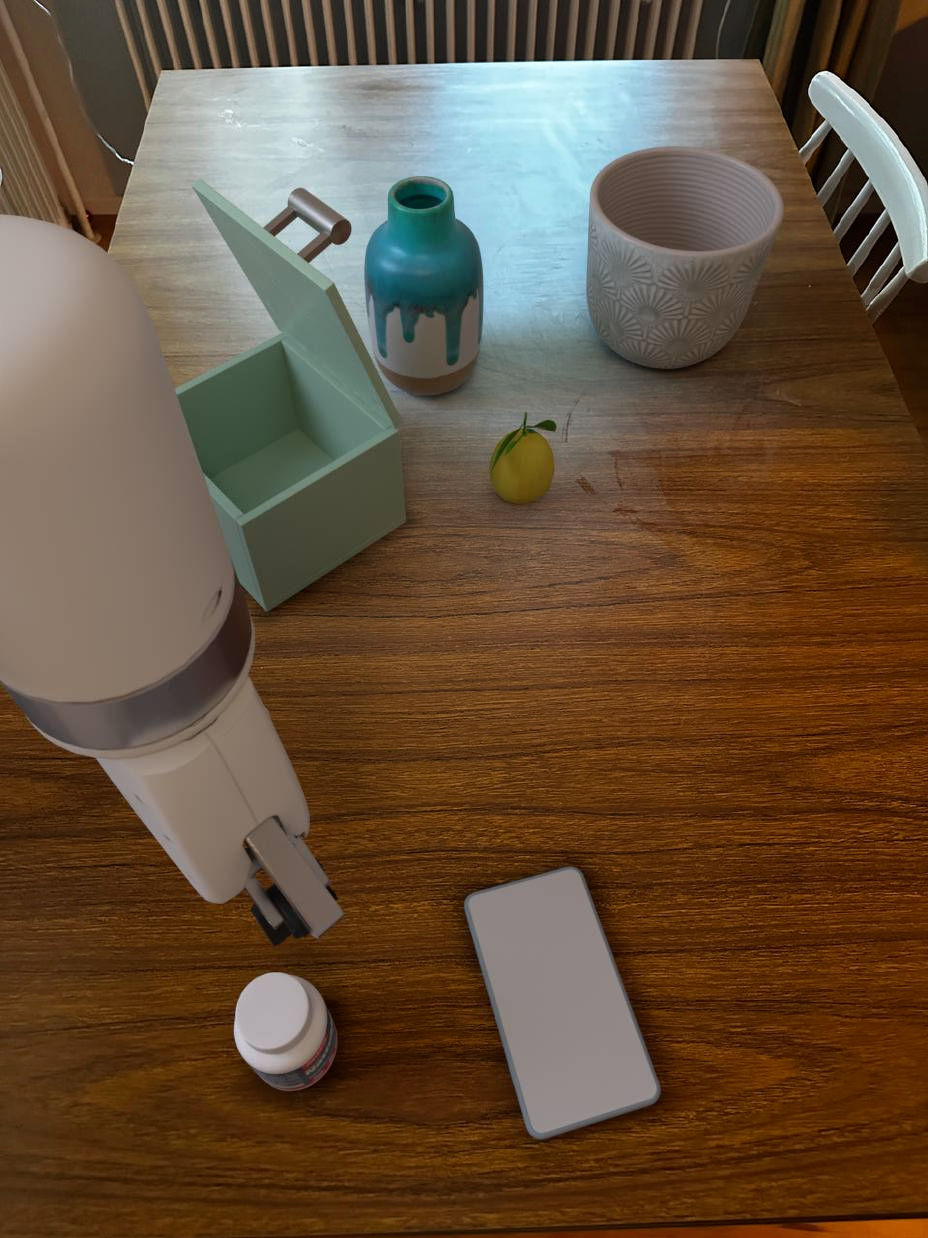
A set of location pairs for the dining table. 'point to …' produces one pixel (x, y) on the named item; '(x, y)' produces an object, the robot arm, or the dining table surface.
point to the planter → (676, 251)
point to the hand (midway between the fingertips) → (237, 839)
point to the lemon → (523, 464)
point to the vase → (424, 290)
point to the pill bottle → (285, 1031)
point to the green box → (291, 467)
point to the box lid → (302, 288)
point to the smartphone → (559, 1003)
